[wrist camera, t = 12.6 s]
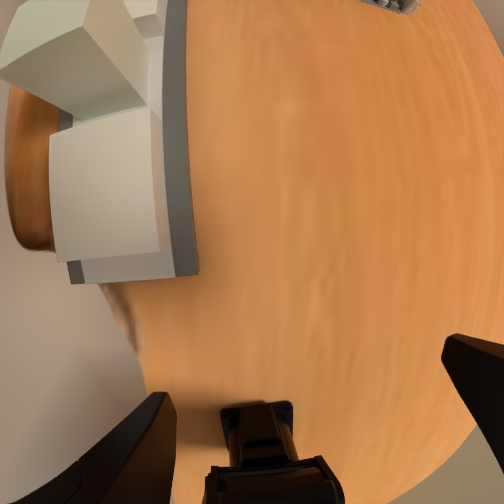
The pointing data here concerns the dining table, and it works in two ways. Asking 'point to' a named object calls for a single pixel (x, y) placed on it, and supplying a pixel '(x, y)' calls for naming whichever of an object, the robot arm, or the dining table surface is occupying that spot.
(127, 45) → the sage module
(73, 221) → the board
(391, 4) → the graphics card
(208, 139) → the dining table surface
